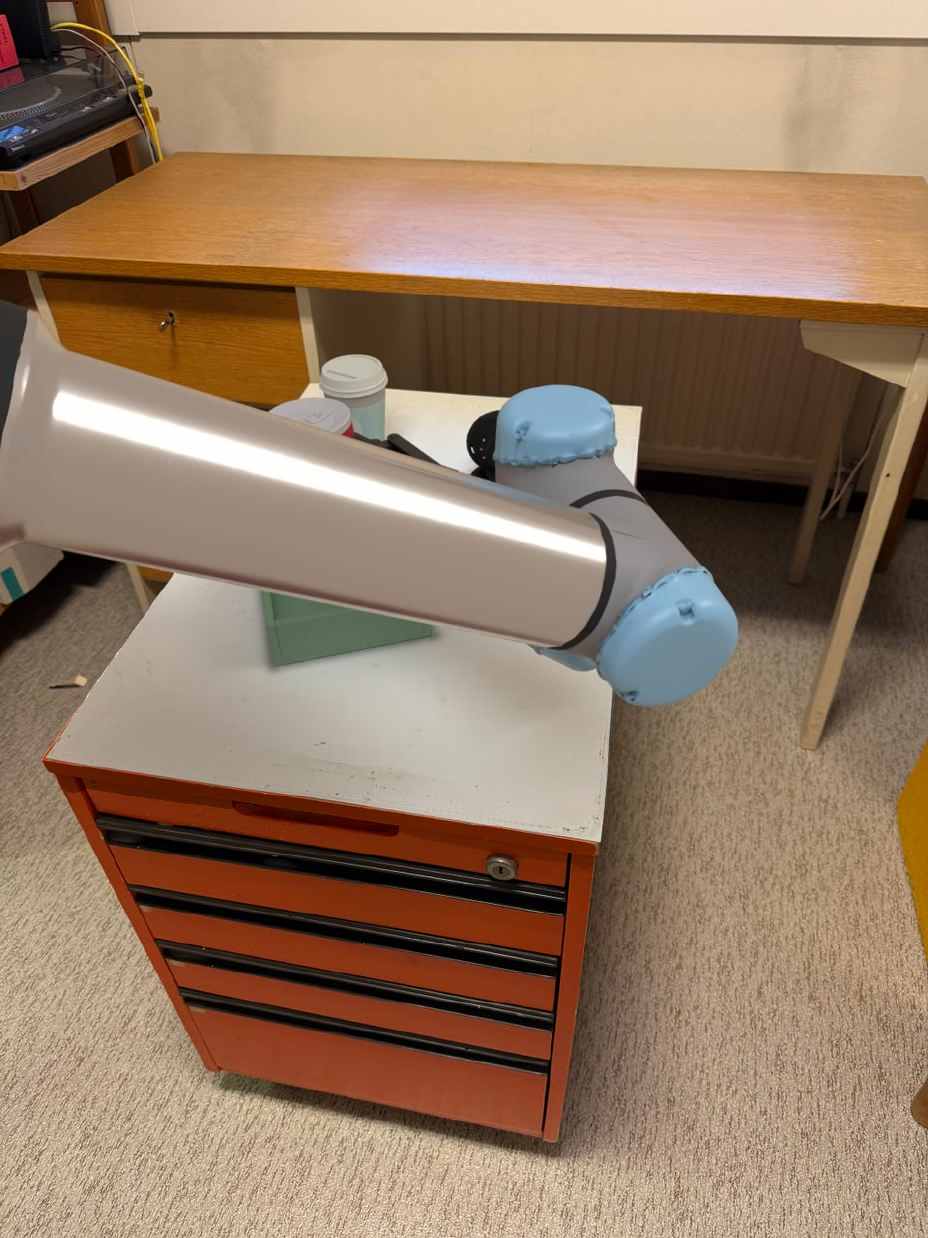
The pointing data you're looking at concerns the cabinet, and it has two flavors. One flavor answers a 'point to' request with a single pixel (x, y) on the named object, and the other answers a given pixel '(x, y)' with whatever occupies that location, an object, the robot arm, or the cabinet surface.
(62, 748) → the cabinet surface
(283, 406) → the canned food
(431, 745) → the cabinet surface
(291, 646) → the tote
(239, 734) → the cabinet surface
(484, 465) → the webcam
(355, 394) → the coffee cup
